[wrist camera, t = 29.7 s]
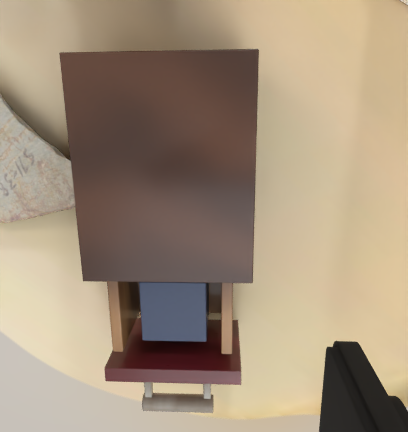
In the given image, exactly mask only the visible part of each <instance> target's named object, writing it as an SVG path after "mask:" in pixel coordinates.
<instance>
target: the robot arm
mask: <svg viewBox="0 0 408 432" xmlns="http://www.w3.org/2000/svg"><path fill="white" fill-rule="evenodd" d="M400 1H401V2H403V3H405V4H407V5H408V0H400ZM319 432H408V411H407V409H406V407H405V406H404V404H403V403H402V401H401V400H400V399H399V398H398V397H396V396H388V394H387V393H386V391H385V389H384V387H383V385H382V384H381V382H380V380H379V378H378V377H377V375H376V373H375V371H374V370H373V368H372V366H371V364H370V363H369V361H368V359H367V357H366V355H365V354H364V352H363V350H362V348H361V347H360V345H359V343H358V342H344V341H335V342H334V344H333V347H327V349H326V357H325V369H324V380H323V392H322V403H321V415H320V427H319Z"/></svg>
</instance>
